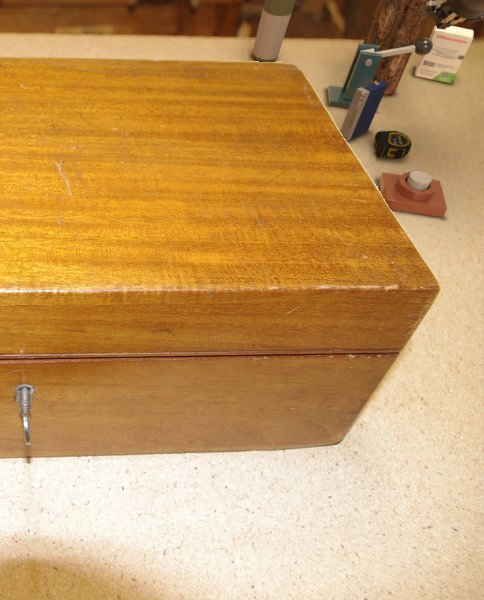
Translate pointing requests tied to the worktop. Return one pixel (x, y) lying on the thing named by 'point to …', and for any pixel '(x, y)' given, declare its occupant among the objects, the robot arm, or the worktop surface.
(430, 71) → the white cardboard box
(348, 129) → the cassette player
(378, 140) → the tape measure
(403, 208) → the block
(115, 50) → the worktop surface
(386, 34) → the tree bark piece
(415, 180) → the flush button
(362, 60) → the bracket
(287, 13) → the bottle
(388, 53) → the flush lever
